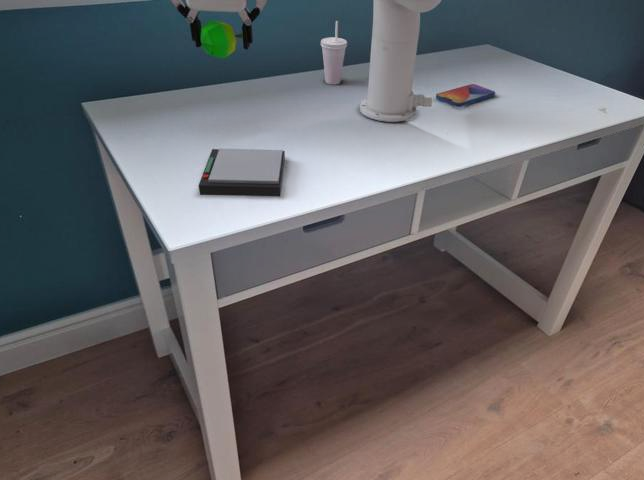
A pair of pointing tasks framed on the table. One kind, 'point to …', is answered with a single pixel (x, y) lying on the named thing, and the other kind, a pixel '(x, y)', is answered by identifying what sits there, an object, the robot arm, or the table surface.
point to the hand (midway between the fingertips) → (223, 45)
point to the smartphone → (465, 95)
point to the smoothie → (333, 57)
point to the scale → (243, 172)
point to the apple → (218, 39)
